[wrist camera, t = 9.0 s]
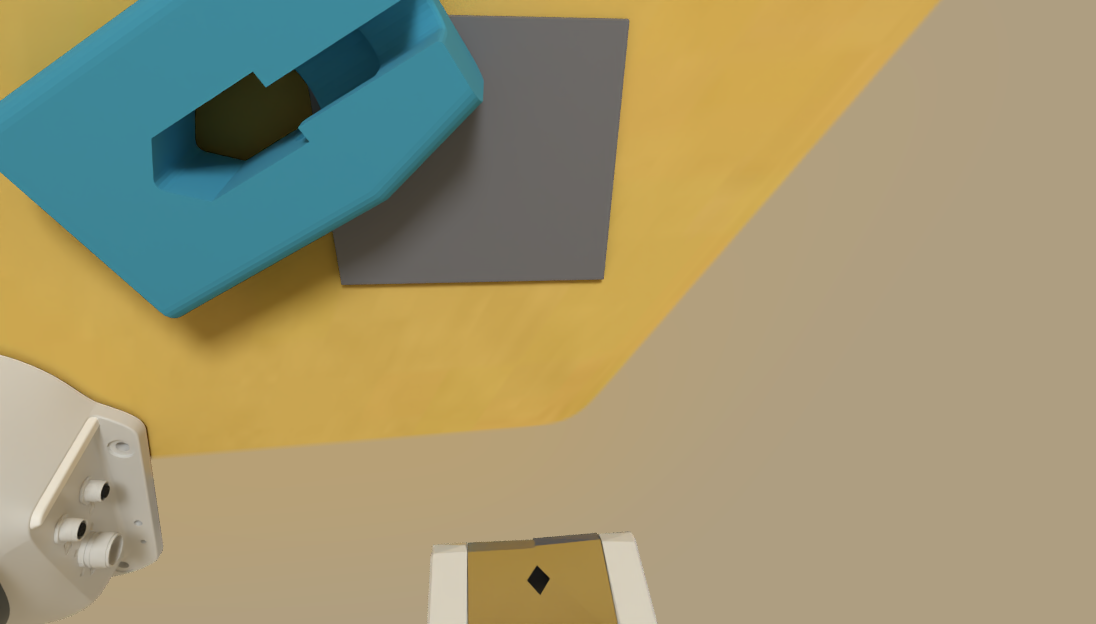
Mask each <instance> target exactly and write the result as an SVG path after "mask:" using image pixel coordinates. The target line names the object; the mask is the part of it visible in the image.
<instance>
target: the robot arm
mask: <svg viewBox="0 0 1096 624" xmlns="http://www.w3.org/2000/svg"><path fill="white" fill-rule="evenodd" d="M162 551H163V542H162V535H161V528H160V521H159V514H158V507H157V501H156V495H155V487H154V480H153V474H152V467H151V460H150V453H149V446H148V439H147V433H146V428H145V425H144V424H143V422H142V421H141V420H139V419H138V418H137V417H135V416H133V415H131V414H129V413H126V412H124V411H121V410H118V409H115V408H112V407H110V406H107V405H103V404H100V403H97V402H95V401H93V400H91V399H89V398H88V397H86V396H84V395H83V394H81V393H80V392H78V391H77V390H75V389H74V388H72V387H71V386H69V385H68V384H66V383H65V382H63V381H61V380H60V379H58V378H56V377H54V376H53V375H51V374H49V373H47V372H45V371H43V370H41V369H38V368H36V367H34V366H32V365H29V364H27V363H24V362H21V361H18V360H15V359H12V358H9V357H6V356H2V355H0V624H45V623H50V622H53V621H57V620H61V619H64V618H67V617H69V616H72V615H74V614H77V613H78V612H80V611H82V610H84V609H85V608H87V607H88V606H89V605H91V604H92V603H93V602H94V601H95V600H96V599H97V598H98V597H99V595H100V594H101V593H102V591H103V590H104V588H105V587H106V585H107V584H108V582H109V580H110V578H111V577H113V576H118V575H122V574H126V573H130V572H133V571H136V570H139V569H142V568H144V567H146V566H148V565H150V564H152V563H154V562H155V561H157V559H158V557H159V556H160V554H161V553H162ZM427 624H657V620H656V616H655V612H654V608H653V605H652V601H651V597H650V594H649V589H648V586H647V582H646V578H645V574H644V570H643V567H642V563H641V559H640V555H639V551H638V548H637V544H636V540H635V537H634V536H633V535H632V533H631V532H628V531H627V532H617V533H605V534H597V533H592V534H580V535H567V536H557V537H544V538H534V539H533V540H515V541H494V542H474V543H468V544H467V543H454V544H438V545H433V549H432V553H431V561H430V581H429V600H428V618H427Z"/></svg>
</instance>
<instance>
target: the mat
mask: <svg viewBox="0 0 1096 624" xmlns="http://www.w3.org/2000/svg"><path fill="white" fill-rule="evenodd" d="M448 16H449V18H450V20H451V21H452V23H453V25H454V26H455V28H456V30H457V32H458V33H459V35H460V37H461V38H462V40H463V42H464V43H465V45H466V47H467V49H468V50H469V52H470V54H471V55H472V57H473V59H474V60H475V62H476V64H477V66H478V68H479V70H480V72H481V75H482V77H483V80H484V89H483V102H482V103H481V104H480V105H479V106H478V107H477V108H476V109H475V110H474V111H473V112H472V113H471V114H470V115H469V116H468V117H467V118H466V119H465V120H464V121H463V122H462V123H461V124H460V125H459V126H458V127H457V129H456V130H455V131H454V132H453V133H452V134H451V135H450V136H449V137H448V138H447V139H446V140H445V141H444V142H443V143H442V144H441V145H440V146H439V147H438V148H437V149H436V150H435V151H434V152H433V153H432V154H431V155H430V156H429V157H428V158H427V159H426V160H425V161H424V162H423V164H422V165H421V166H420V167H419V168H418V169H417V170H416V171H415V172H414V173H413V174H412V175H411V176H410V177H409V178H408V179H407V180H406V181H405V182H404V183H403V184H402V185H401V186H400V187H399V188H398V189H397V190H396V191H395V192H394V193H393V194H392V195H391V196H390V197H389V199H388V200H386V201H384V202H382V203H380V204H379V205H377V206H375V207H373V208H372V209H370V210H368V211H366V212H365V213H363V214H361V215H359V216H358V217H356V218H354V219H352V220H350V221H349V222H347V223H345V224H343V225H342V226H340V227H338V228H336V229H335V230H333V237H334V242H335V248H336V254H337V260H338V266H339V272H340V278H341V284H342V285H354V284H402V283H450V282H498V281H546V280H594V279H604V270H605V260H606V250H607V240H608V230H609V220H610V210H611V200H612V190H613V180H614V170H615V160H616V150H617V139H618V129H619V119H620V109H621V99H622V89H623V79H624V69H625V59H626V49H627V39H628V29H629V20H628V19H607V18H561V17H515V16H470V15H448ZM308 89H309V95H310V101H311V107H312V113H313V114H315V113H316V112H318V111H320V110H321V109H320V106H319V104H318V102H317V100H316V98H315V96H314V94H313V92H312V91H311V89H310V88H309V86H308Z"/></svg>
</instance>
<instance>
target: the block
mask: <svg viewBox="0 0 1096 624" xmlns="http://www.w3.org/2000/svg"><path fill="white" fill-rule="evenodd" d="M293 69H295V70H296V71H297V73H298V74H299V75H300V76H301V77H302V78H303V80H304V81H305V82H306V83H307V85H308V86H309V88H310V89H311V91H312V92H313V94H314V96H315V98H316V100H317V102H318V104H319V106H320V109H321V110H320V111H318V112H316V113H315V114H313V115H312V116H310V117H308V118H307V119H305V120H304V121H303V122H302V123H301V124H300V126H299V127H298V129H296V130H295V131H293V132H291V133H290V134H288V135H287V136H285V137H283V138H282V139H280V140H278V141H277V142H275V143H274V144H272V145H270V146H269V147H267V148H266V149H264V150H262V151H261V152H259V153H258V154H256V155H254V156H253V157H251V158H249V159H248V160H246V161H244V160H240V159H235V158H231V157H227V156H222V155H218V154H214V153H209V152H205V151H203V150H201V149H200V148H199V147H198V146H197V145H196V141H195V109H197V108H198V107H200V106H201V105H203V104H204V103H206V102H207V101H209V100H210V99H212V98H213V97H215V96H217V95H218V94H220V93H221V92H223V91H224V90H226V89H227V88H229V87H230V86H232V85H233V84H235V83H236V82H238V81H239V80H241V79H242V78H244V77H245V76H247V75H248V74H250V73H251V72H254V74H255V75H256V76H257V77H258V79H259V80H260V81H261V82H262V84H263V85H264V86H265V87H267V86H269V85H270V84H272V83H273V82H275V81H276V80H278V79H280V78H281V77H283V76H284V75H286V74H287V73H289V72H290V71H292V70H293ZM483 89H484V80H483V77H482V75H481V72H480V70H479V68H478V66H477V64H476V62H475V60H474V59H473V57H472V55H471V54H470V52H469V50H468V49H467V47H466V45H465V43H464V42H463V40H462V38H461V37H460V35H459V33H458V32H457V30H456V28H455V26H454V25H453V23H452V21H451V20H450V18H449V16H448V15H447V13H446V11H445V10H444V8H443V6H442V4H441V3H440V1H439V0H138V1H137V2H135V3H134V4H133V5H131V6H130V7H128V8H127V9H126V10H124V11H123V12H122V13H120V14H119V15H117V16H116V17H115V18H113V19H112V20H111V21H109V22H108V23H106V24H105V25H104V26H102V27H101V28H100V29H98V30H97V31H95V32H94V33H93V34H91V35H90V36H89V37H87V38H86V39H85V40H83V41H82V42H80V43H79V44H78V45H76V46H75V47H74V48H72V49H71V50H69V51H68V52H67V53H65V54H64V55H63V56H61V57H60V58H58V59H57V60H56V61H54V62H53V63H52V64H50V65H49V66H47V67H46V68H45V69H43V70H42V71H41V72H39V73H38V74H36V75H35V76H34V77H32V78H31V79H30V80H28V81H27V82H25V83H24V84H23V85H21V86H20V87H19V88H17V89H16V90H14V91H13V92H12V93H10V94H9V95H8V96H6V97H5V98H4V99H2V100H1V101H0V172H1V173H2V174H3V175H4V176H5V177H7V178H8V179H9V180H10V181H11V182H12V183H13V184H15V185H16V186H17V187H18V188H19V189H20V190H21V191H23V192H24V193H25V194H26V195H27V196H28V197H29V198H31V199H32V200H33V201H34V202H35V203H36V204H37V205H39V206H40V207H41V208H42V209H43V210H44V211H45V212H47V213H48V214H49V215H50V216H51V217H52V218H53V219H55V220H56V221H57V222H58V223H59V224H60V225H61V226H63V227H64V228H65V229H66V230H67V231H68V232H69V233H71V234H72V235H73V236H74V237H75V238H76V239H77V240H79V241H80V242H81V243H82V244H83V245H84V246H85V247H87V248H88V249H89V250H90V251H91V252H92V253H93V254H95V255H96V256H97V257H98V258H99V259H100V260H101V261H103V262H104V263H105V264H106V265H107V266H108V267H109V268H111V269H112V270H113V271H114V272H115V273H116V274H117V275H119V276H120V277H121V278H122V279H123V280H124V281H125V282H127V283H128V284H129V285H130V286H131V287H132V288H133V289H135V290H136V291H137V292H138V293H139V294H140V295H141V296H143V297H144V298H145V299H146V300H147V301H148V302H149V303H151V304H152V305H153V306H154V307H155V308H156V309H157V310H159V311H160V312H161V313H162V314H164V315H165V316H168V317H170V318H178V317H181V316H183V315H184V314H186V313H188V312H190V311H191V310H193V309H195V308H197V307H198V306H200V305H202V304H204V303H205V302H207V301H209V300H211V299H213V298H214V297H216V296H218V295H220V294H221V293H223V292H225V291H227V290H228V289H230V288H232V287H234V286H236V285H237V284H239V283H241V282H243V281H244V280H246V279H248V278H250V277H251V276H253V275H255V274H257V273H259V272H260V271H262V270H264V269H266V268H267V267H269V266H271V265H273V264H274V263H276V262H278V261H280V260H282V259H283V258H285V257H287V256H289V255H290V254H292V253H294V252H296V251H297V250H299V249H301V248H303V247H304V246H306V245H308V244H310V243H312V242H313V241H315V240H317V239H319V238H320V237H322V236H324V235H326V234H327V233H329V232H331V231H333V230H335V229H336V228H338V227H340V226H342V225H343V224H345V223H347V222H349V221H350V220H352V219H354V218H356V217H358V216H359V215H361V214H363V213H365V212H366V211H368V210H370V209H372V208H373V207H375V206H377V205H379V204H380V203H382V202H384V201H386V200H388V199H389V197H390V196H391V195H392V194H393V193H394V192H395V191H396V190H397V189H398V188H399V187H400V186H401V185H402V184H403V183H404V182H405V181H406V180H407V179H408V178H409V177H410V176H411V175H412V174H413V173H414V172H415V171H416V170H417V169H418V168H419V167H420V166H421V165H422V164H423V162H424V161H425V160H426V159H427V158H428V157H429V156H430V155H431V154H432V153H433V152H434V151H435V150H436V149H437V148H438V147H439V146H440V145H441V144H442V143H443V142H444V141H445V140H446V139H447V138H448V137H449V136H450V135H451V134H452V133H453V132H454V131H455V130H456V129H457V127H458V126H459V125H460V124H461V123H462V122H463V121H464V120H465V119H466V118H467V117H468V116H469V115H470V114H471V113H472V112H473V111H474V110H475V109H476V108H477V107H478V106H479V105H480V104H481V103H482V102H483Z"/></svg>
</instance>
